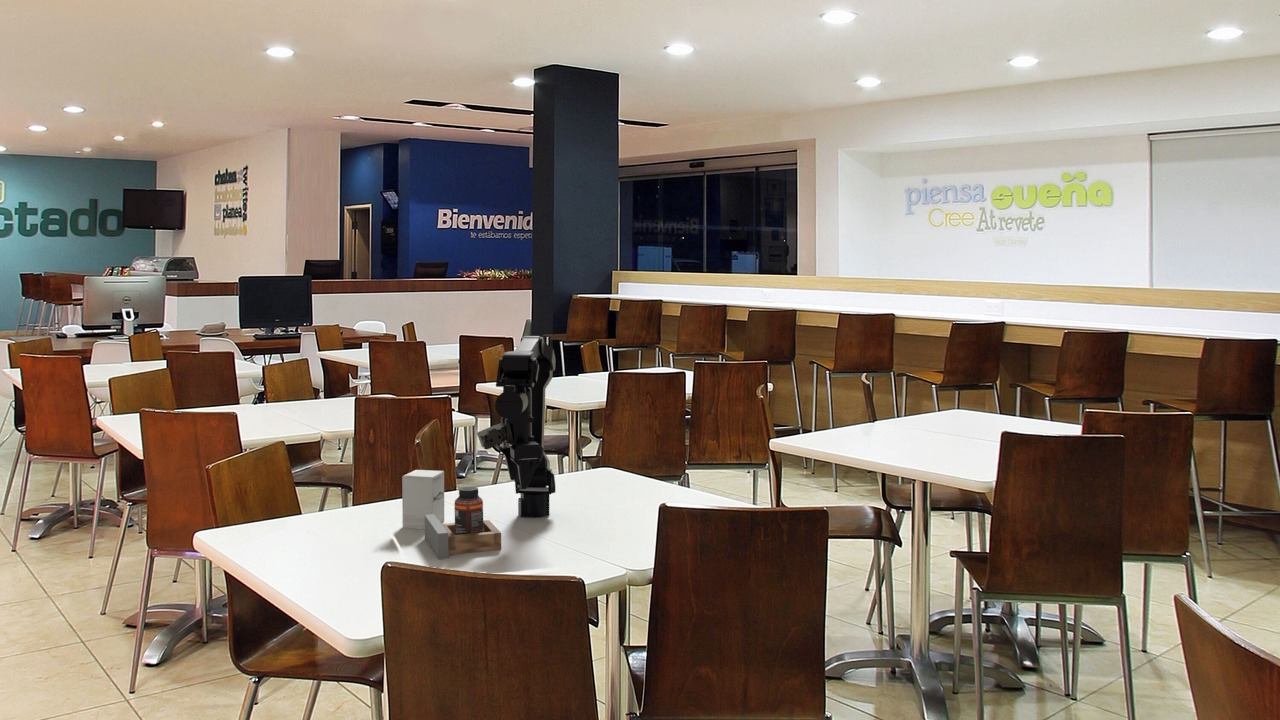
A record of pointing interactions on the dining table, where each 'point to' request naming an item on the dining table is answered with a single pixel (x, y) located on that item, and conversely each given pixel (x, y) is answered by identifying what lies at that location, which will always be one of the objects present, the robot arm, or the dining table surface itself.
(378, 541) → the dining table surface
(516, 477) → the robot arm
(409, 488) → the supplement box
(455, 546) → the wooden tray
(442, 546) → the backstop
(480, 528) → the supplement bottle
